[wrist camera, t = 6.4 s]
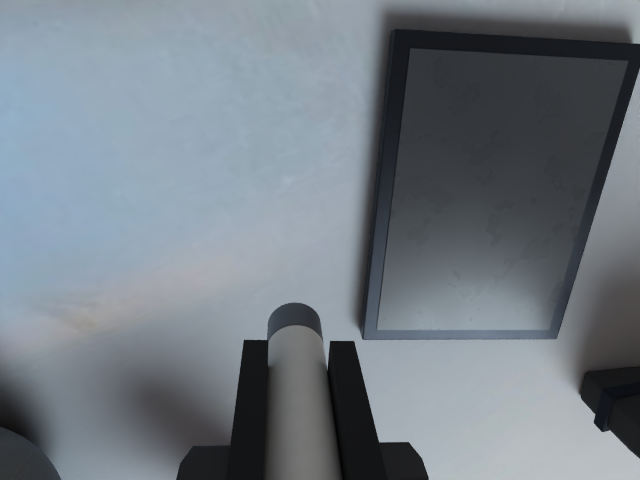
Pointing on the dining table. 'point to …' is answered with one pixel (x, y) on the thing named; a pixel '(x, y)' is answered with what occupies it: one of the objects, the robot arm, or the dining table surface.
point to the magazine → (615, 403)
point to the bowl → (23, 459)
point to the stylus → (298, 400)
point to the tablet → (488, 181)
